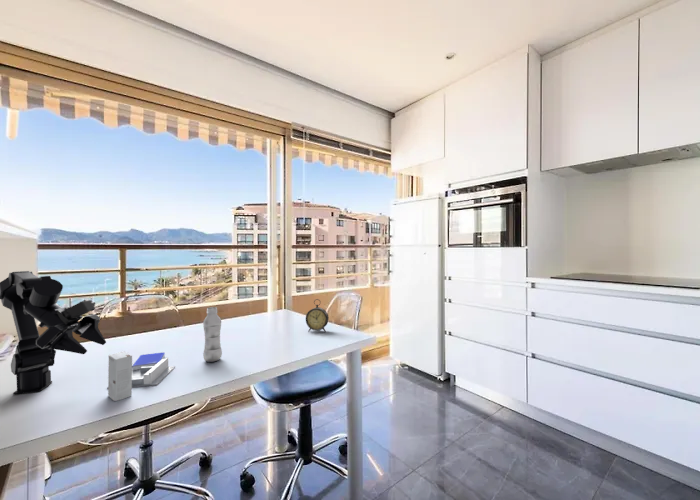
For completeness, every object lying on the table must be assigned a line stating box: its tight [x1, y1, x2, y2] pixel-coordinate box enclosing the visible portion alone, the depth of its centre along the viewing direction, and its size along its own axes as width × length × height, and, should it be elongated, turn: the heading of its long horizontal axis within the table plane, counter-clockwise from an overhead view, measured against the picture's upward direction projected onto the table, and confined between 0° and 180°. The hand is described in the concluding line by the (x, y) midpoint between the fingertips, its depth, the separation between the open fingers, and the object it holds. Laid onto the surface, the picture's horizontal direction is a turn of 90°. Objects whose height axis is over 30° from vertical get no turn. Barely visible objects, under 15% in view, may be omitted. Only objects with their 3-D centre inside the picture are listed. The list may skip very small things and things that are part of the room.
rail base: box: [107, 357, 176, 390], centre depth 102 cm, size 14×14×4 cm
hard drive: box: [132, 352, 166, 370], centre depth 114 cm, size 2×8×12 cm
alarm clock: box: [305, 298, 329, 333], centre depth 154 cm, size 11×5×16 cm, turn 81°
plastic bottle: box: [202, 306, 223, 363], centre depth 116 cm, size 6×7×20 cm
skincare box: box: [107, 350, 133, 402], centre depth 90 cm, size 6×4×12 cm
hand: (95, 347), depth 90 cm, fingers open, 9 cm apart
